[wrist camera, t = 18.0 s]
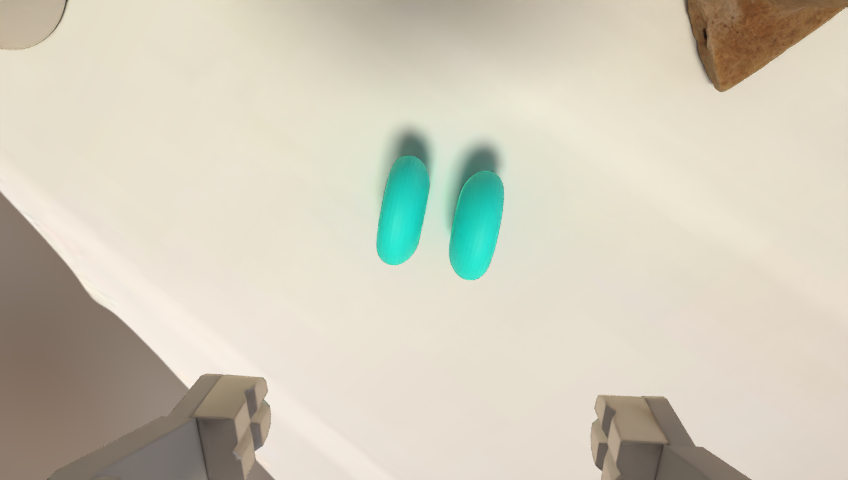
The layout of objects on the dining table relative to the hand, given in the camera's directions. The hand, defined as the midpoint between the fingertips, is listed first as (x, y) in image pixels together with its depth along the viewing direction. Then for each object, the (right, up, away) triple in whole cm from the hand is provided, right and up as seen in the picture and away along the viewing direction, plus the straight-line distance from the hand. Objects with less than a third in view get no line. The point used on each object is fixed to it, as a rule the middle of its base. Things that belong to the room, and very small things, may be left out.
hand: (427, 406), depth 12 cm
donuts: (+2, +8, +37) cm, 38 cm away
